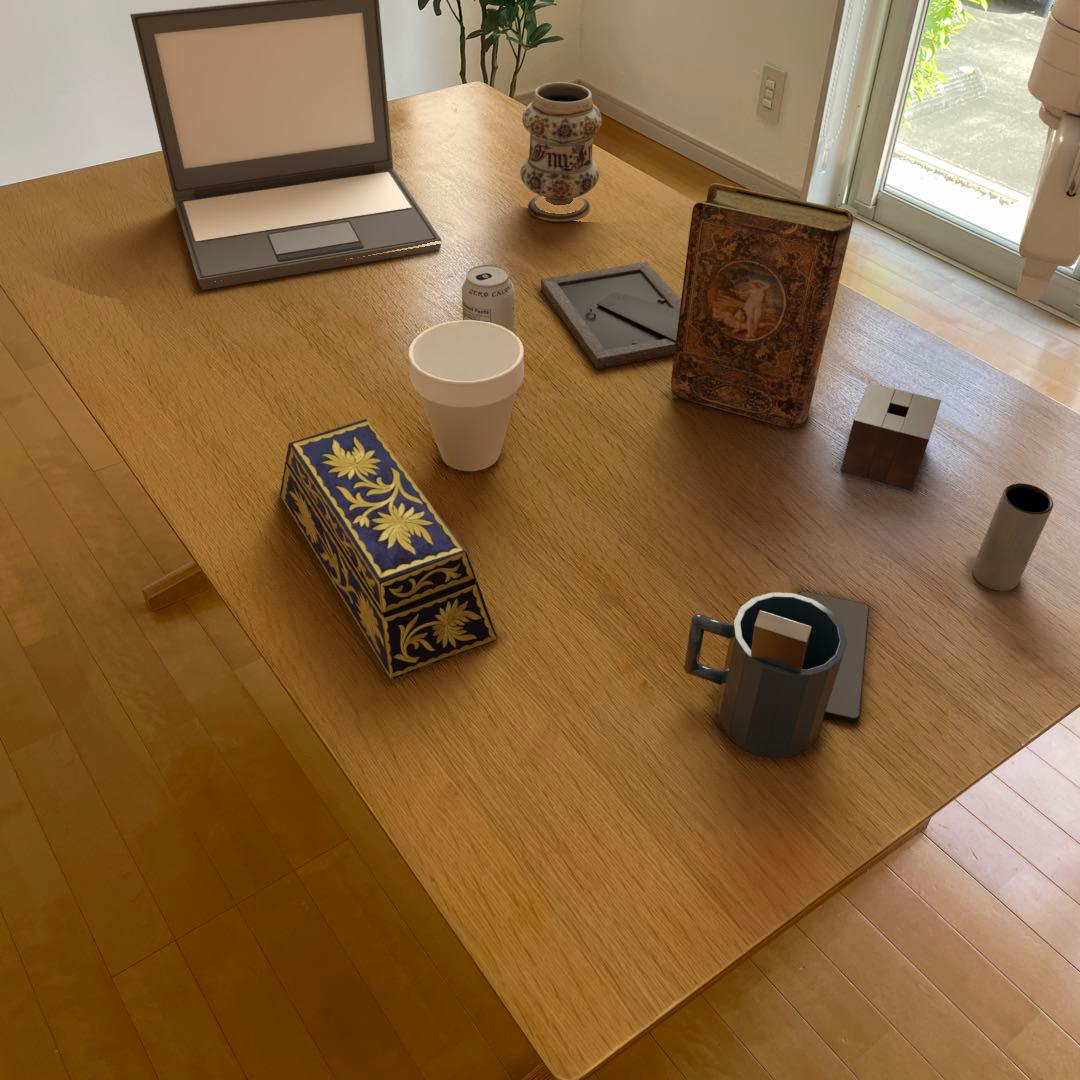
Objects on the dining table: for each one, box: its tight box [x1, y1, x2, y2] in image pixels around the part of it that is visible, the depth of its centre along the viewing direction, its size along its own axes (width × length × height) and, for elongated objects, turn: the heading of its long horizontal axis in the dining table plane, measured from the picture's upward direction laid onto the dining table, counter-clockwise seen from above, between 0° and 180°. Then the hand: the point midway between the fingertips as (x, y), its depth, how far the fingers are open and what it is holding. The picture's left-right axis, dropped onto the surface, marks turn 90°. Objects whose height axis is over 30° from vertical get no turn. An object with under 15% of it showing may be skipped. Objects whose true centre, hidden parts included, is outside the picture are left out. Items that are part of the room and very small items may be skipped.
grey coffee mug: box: [683, 591, 847, 759], centre depth 90 cm, size 13×9×11 cm
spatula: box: [751, 610, 812, 673], centre depth 85 cm, size 4×1×17 cm, turn 65°
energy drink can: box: [461, 264, 515, 334], centre depth 125 cm, size 6×6×15 cm
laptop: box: [129, 0, 442, 291], centre depth 150 cm, size 35×28×28 cm
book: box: [670, 182, 854, 430], centre depth 119 cm, size 16×6×25 cm, turn 65°
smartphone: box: [798, 590, 870, 724], centre depth 98 cm, size 7×1×15 cm
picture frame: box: [540, 261, 681, 370], centre depth 141 cm, size 16×2×21 cm
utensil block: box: [840, 382, 942, 491], centre depth 117 cm, size 8×8×7 cm
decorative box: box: [279, 418, 498, 680], centre depth 103 cm, size 11×30×9 cm, turn 30°
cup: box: [407, 319, 525, 472], centre depth 115 cm, size 12×12×14 cm
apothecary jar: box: [519, 81, 603, 223], centre depth 159 cm, size 12×12×18 cm
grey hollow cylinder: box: [971, 482, 1054, 592], centre depth 103 cm, size 4×4×10 cm
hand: (1035, 265), depth 77 cm, fingers open, 8 cm apart
